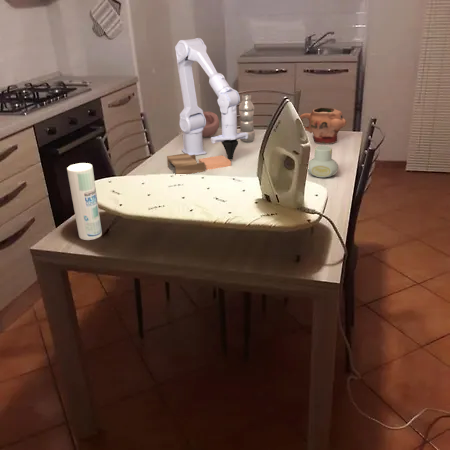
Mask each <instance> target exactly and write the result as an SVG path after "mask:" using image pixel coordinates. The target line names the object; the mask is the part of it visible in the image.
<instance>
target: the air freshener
mask: <svg viewBox="0 0 450 450" xmlns="http://www.w3.org/2000/svg"><path fill="white" fill-rule="evenodd" d="M332 156H333V148H332V147H331V146H328V145H317V146H316V147H315V148H314V157H313V158H312V159H310V160H309V161H308V162H309V169H308V170H307V172H308V173H309V174H310V175H311V176H313V177H316V178H318V179H325V178H326V179H327V178H330V177H332V176H334V175H335V174H337V172H338V170H339V165H338V163H337V161H336V160H334V159H333V158H332Z"/></svg>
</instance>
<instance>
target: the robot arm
mask: <svg viewBox="0 0 450 450" xmlns="http://www.w3.org/2000/svg"><path fill="white" fill-rule="evenodd" d="M174 49H175V56H176V66H177V72H178V78H179V85H180V90H181V92H180V93H181V97H182V103H183V109H182V110H181V111H180V112H179V128H180V129H181V131H182V145H183V146H182V147H183V148H181V149H180V150H181V151H182V152H183V154H185V153H188V154H189V155H196V156H198V155H199V156H200V155H206V154H207V153H208V152H207V151H205V150H204V144H203V143H204V142H203V141H204V140H203V136H202V131H203V128H204V127H205V125H206V119H205V116H204V114H203V112H204V110H203V109H202V108H201V107H199V106H198V99H197V92H196V86H195V81H194V71H193V67H192V66H193V64H194V63H195V62H197V63H198V64H199V65H200V67H201V69H203V71H204V72H205V74H206V75H207V76H208V78H209V79H208V80H209V81H208V84H209V85H210V87H211V88H212V90H213V92H214V93H215V95H216V96H217V104H218V106H219V111H220V115H221V117H220V119H221V134H219V135H217V136H210V142H211V144H216V143H221V144H222V147H223V149H224V150H225V154H226V158H227V159H229V160H230V161H231V160H233V159H234V155H235V150H236V148H237V146H238V145H239V141H238V140H240V139H244V138H245V139H248V133H240V132H238V118H237V117H238V115H237V114H238V113H237V111H238V110H237V108H238V107H237V106H238V105H240V104H239V103H240V102H241V97H240V94H239V92H238V91H237V90H236V89H233V88H232V87H231V86H230V85H229V83H228V81H227V80H226V78H225V76H224V75H223V73H220V72H218V71H217V70H216V69H217V68H215V66H214V64H213V61H212V60H211V58H210V56H209V55H208V53H207V45H206V44H205V42H204V40H203V39H202V38H200V37H196V38H189V39H180V40H179V41H178V42H177V43H176V45H175V46H174Z"/></svg>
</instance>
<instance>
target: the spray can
mask: <svg viewBox="0 0 450 450" xmlns="http://www.w3.org/2000/svg"><path fill="white" fill-rule="evenodd" d="M66 171H67V177H68V182H69V183H68V184H69V187H70V193H71V194H70V195H71V200H72V204H73V210H74V215H75V221H76V222H75V223H76V226H77V232H78V237H79V239H81V240H85V241H90V240H96V239H98V238H100V237H101V236H102V235H103V230H102V225H101V217H100V210H99V202H98V196H97V190H96V181H95V175H94V167H93V164H91V163H90V162H89V163H88V162H87V163H86V162H79V163H75V164H74V163H73V164H70V165H69V166H68V167H66Z"/></svg>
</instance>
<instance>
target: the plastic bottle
mask: <svg viewBox="0 0 450 450" xmlns="http://www.w3.org/2000/svg"><path fill="white" fill-rule="evenodd" d="M241 100H242V101H240V104H238V105H239V106H238V112H239V118H240V127H239V129H240V130H239V133H248V139H245V138H244V139H239V140H240V141H241V142H244V143H250V142H253V141H254V140H255V137H256V134H255V130H254V129H255V128H254V113H255V105H254V103H253V102H252V101H251V100H252V94H248V93H245V94H244V93H243V94H242V95H241Z"/></svg>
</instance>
